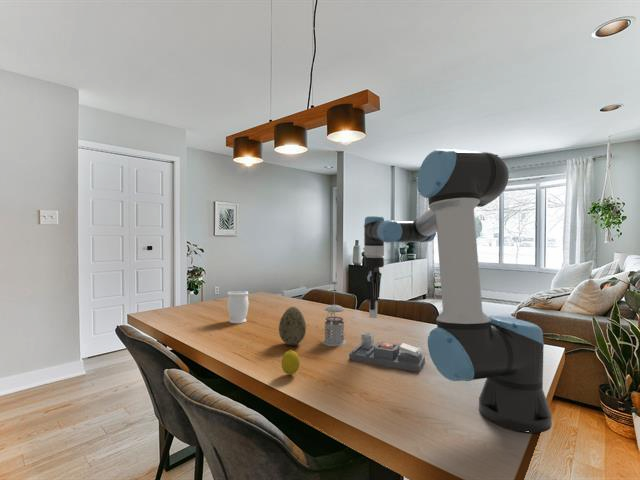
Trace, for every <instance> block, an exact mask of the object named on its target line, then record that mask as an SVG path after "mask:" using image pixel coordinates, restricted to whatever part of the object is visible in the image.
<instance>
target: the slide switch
mask: <svg viewBox="0 0 640 480" xmlns="http://www.w3.org/2000/svg"><path fill="white" fill-rule="evenodd" d="M374 337H375V334H374V333H372V332H362V333H361V343H362V348H364V349H371V348H372V347H373V346H374V343H375V342H374V339H375V338H374Z"/></svg>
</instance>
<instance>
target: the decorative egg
mask: <svg viewBox="0 0 640 480" xmlns="http://www.w3.org/2000/svg"><path fill="white" fill-rule="evenodd" d="M306 331H307V324H306V320H305V317H304V315H303V314H302V312H301V310H300V309H299V308H298V307H296V306H291V307H289V308H287V309H286V310H285V311H284V313H283V314H282V316H281V318H280V321H279V324H278V334H279V337H280V338H281V340H282V342H284V344H286V345H288V346H296V345H298V344H300V343H301V342H302V341H303V339H304V338H305V336H306Z"/></svg>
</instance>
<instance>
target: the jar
mask: <svg viewBox="0 0 640 480" xmlns="http://www.w3.org/2000/svg"><path fill="white" fill-rule="evenodd" d="M248 295H249V291H247V290H230V291H228V292H227V296H228V297H227V304H226V307H227V311H228V316H229V318H230V319H229V323H230V324H244V323H246V322H247V315H248V311H249V296H248Z"/></svg>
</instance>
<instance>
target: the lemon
mask: <svg viewBox="0 0 640 480" xmlns="http://www.w3.org/2000/svg"><path fill="white" fill-rule="evenodd" d="M281 368H282V371H283V372H284V373H285V374H286V375H289V376H290V377H291V376H292V375H294V374H295V373H297V372H298V370H299V368H300V358H299V354H298V353H297V352H296V351H294V350H292V349H289V350H287V351H286V352H285V353H284V354H283V355H282V358H281Z"/></svg>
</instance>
